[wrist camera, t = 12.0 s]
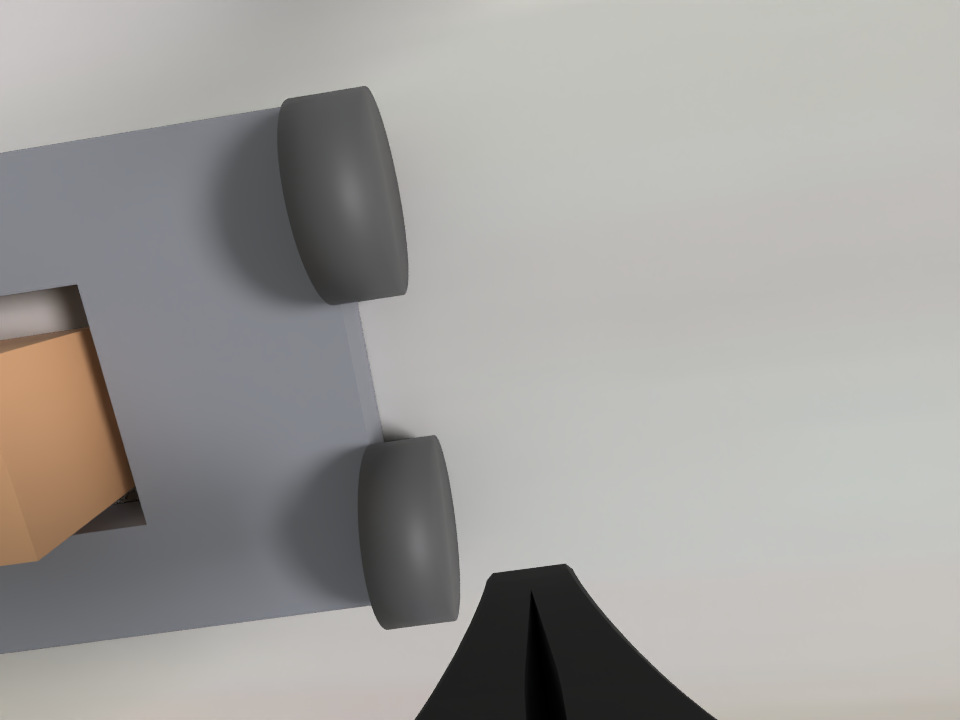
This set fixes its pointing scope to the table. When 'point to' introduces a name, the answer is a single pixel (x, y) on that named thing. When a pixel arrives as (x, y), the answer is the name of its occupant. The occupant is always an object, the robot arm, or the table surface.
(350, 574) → the chassis
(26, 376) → the block
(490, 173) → the table surface
